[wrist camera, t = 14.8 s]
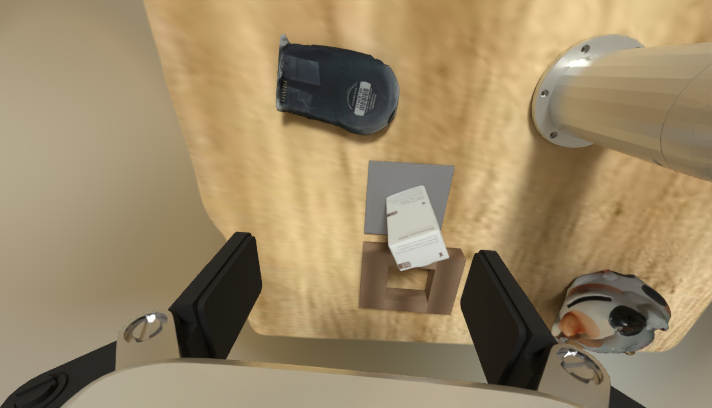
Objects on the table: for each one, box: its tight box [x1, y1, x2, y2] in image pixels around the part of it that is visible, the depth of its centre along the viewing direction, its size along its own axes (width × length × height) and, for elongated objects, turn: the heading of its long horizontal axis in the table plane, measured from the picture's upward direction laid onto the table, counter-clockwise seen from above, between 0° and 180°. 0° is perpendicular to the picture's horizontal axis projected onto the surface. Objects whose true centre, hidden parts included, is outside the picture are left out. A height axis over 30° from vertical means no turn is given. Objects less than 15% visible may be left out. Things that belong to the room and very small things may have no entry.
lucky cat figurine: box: [551, 270, 671, 355], centre depth 41 cm, size 15×12×14 cm
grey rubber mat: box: [364, 160, 454, 235], centre depth 41 cm, size 12×12×1 cm
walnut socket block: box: [359, 241, 466, 315], centre depth 46 cm, size 16×12×3 cm
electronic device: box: [276, 33, 399, 135], centre depth 34 cm, size 9×6×15 cm
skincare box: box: [386, 186, 449, 271], centre depth 35 cm, size 6×4×12 cm
